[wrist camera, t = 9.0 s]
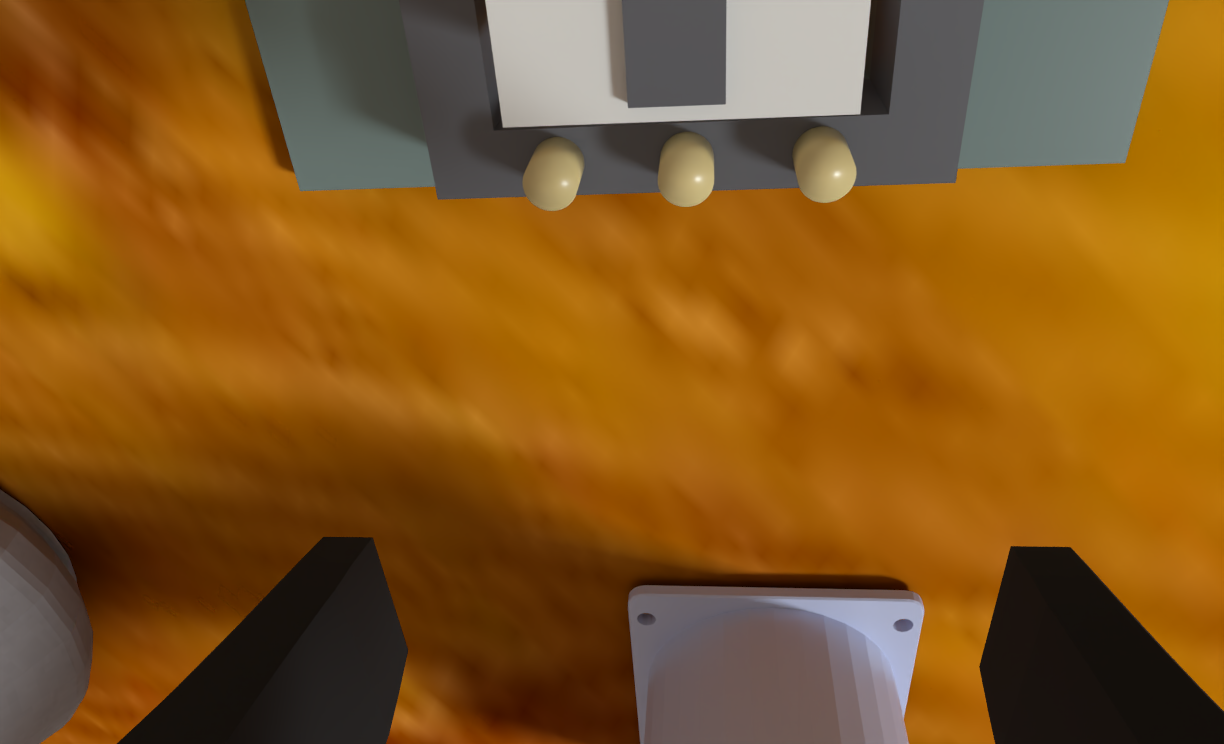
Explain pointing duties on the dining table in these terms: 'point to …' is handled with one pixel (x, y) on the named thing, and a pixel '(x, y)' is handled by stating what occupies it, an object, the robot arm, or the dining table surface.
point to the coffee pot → (38, 630)
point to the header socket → (705, 149)
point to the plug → (676, 59)
